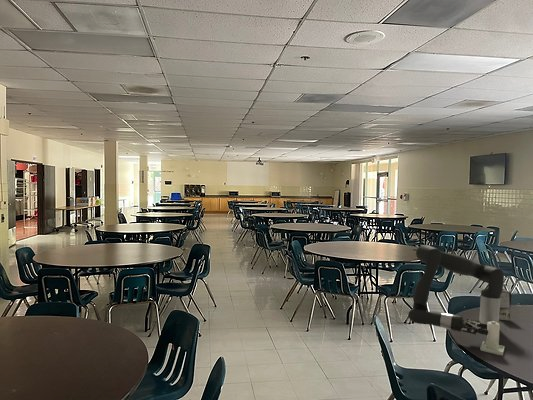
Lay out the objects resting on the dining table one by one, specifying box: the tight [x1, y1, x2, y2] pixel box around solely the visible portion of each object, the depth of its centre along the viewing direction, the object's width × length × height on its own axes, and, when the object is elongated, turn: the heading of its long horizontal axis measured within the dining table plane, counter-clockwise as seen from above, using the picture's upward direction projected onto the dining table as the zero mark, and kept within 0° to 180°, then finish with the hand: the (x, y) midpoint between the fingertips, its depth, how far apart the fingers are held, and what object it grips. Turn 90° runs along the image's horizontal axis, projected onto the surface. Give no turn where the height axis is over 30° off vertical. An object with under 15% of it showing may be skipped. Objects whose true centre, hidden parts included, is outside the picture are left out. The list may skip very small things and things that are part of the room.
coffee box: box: [499, 288, 513, 321], centre depth 234 cm, size 9×6×16 cm
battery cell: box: [485, 321, 501, 351], centre depth 186 cm, size 5×5×13 cm
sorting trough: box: [479, 341, 506, 356], centre depth 186 cm, size 9×9×2 cm
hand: (489, 330), depth 187 cm, fingers open, 8 cm apart
